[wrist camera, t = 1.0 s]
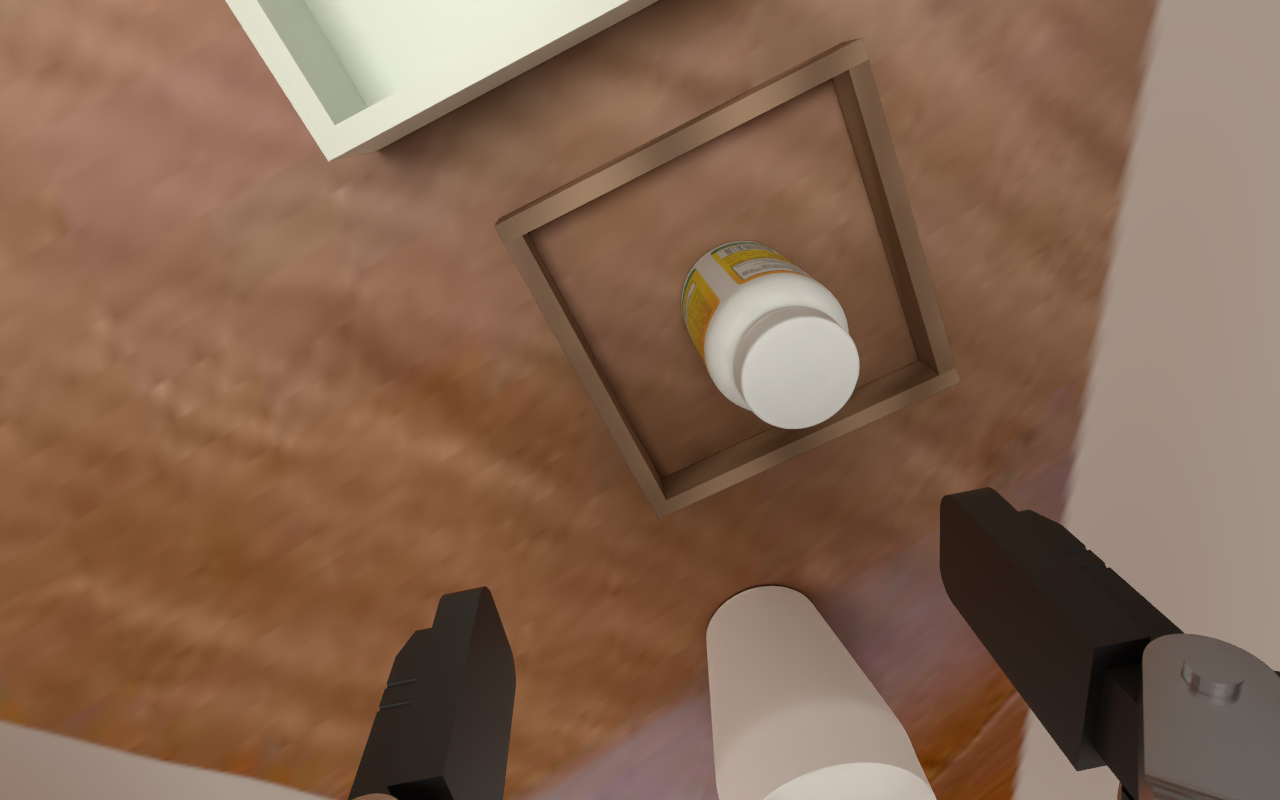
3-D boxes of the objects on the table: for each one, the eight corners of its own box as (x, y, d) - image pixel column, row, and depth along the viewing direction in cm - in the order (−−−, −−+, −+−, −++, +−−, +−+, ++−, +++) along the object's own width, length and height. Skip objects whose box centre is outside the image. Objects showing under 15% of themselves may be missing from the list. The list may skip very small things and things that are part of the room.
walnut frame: (842, 42, 27) (862, 37, 25) (938, 366, 33) (959, 382, 31) (498, 218, 28) (493, 226, 26) (653, 497, 34) (658, 519, 32)
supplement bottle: (745, 213, 29) (821, 257, 20) (815, 300, 31) (913, 375, 22) (653, 296, 30) (688, 373, 21) (727, 375, 32) (786, 475, 23)
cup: (860, 644, 40) (970, 847, 29) (727, 709, 41) (785, 928, 30) (800, 539, 36) (900, 725, 25) (656, 613, 37) (692, 822, 26)
